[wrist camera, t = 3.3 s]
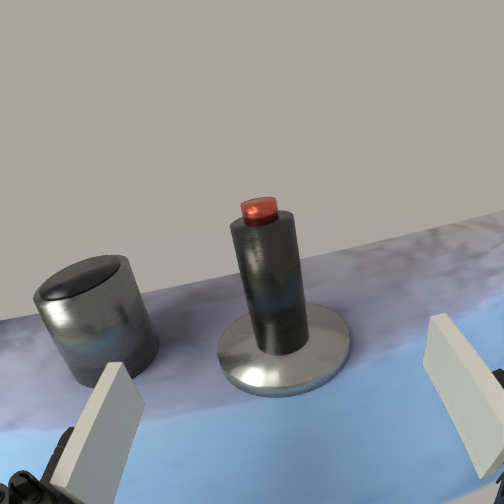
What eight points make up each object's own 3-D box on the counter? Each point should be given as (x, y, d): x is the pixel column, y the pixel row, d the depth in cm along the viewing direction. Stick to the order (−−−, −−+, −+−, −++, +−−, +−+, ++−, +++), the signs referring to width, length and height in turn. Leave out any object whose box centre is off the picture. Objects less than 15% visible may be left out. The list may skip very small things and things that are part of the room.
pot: (58, 366, 26) (20, 291, 22) (121, 320, 32) (94, 249, 29) (105, 402, 21) (55, 312, 18) (178, 339, 28) (148, 254, 24)
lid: (195, 375, 23) (145, 230, 19) (260, 307, 30) (235, 186, 26) (320, 413, 17) (302, 232, 13) (364, 321, 25) (356, 180, 21)
